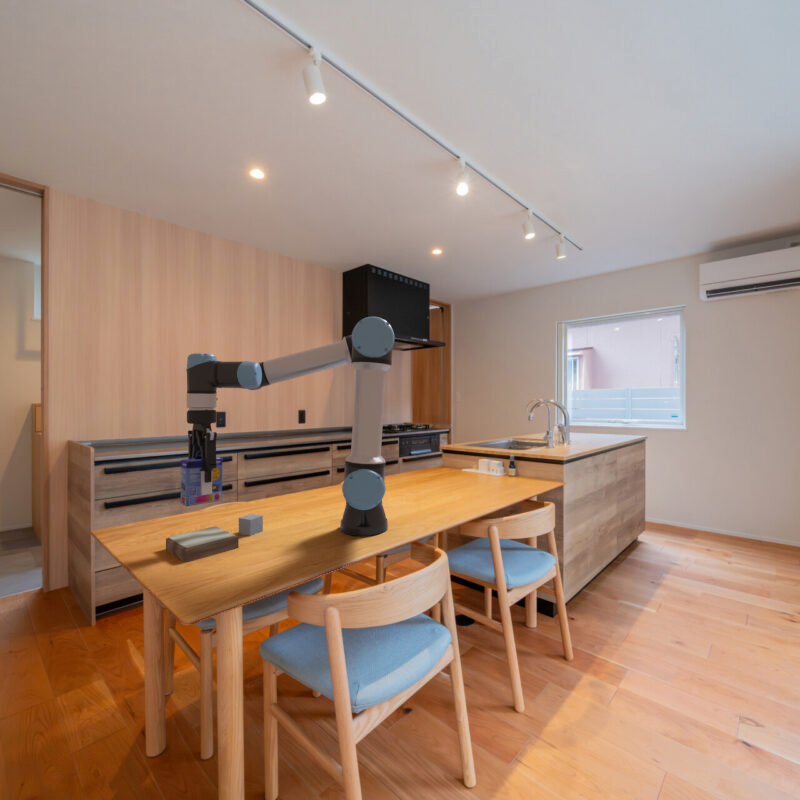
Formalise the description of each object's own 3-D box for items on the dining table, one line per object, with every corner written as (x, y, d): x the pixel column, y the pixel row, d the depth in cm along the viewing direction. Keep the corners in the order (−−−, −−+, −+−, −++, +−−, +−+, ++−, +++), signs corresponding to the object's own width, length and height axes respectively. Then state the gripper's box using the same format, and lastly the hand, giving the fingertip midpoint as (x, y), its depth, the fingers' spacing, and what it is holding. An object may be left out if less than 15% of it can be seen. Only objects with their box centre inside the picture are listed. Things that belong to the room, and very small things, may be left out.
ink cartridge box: (186, 507, 108) (186, 452, 109) (179, 504, 112) (178, 451, 113) (223, 500, 116) (223, 449, 116) (215, 498, 119) (215, 448, 120)
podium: (238, 547, 115) (238, 535, 115) (185, 562, 104) (185, 549, 104) (216, 536, 124) (216, 525, 124) (165, 549, 113) (165, 537, 113)
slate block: (262, 531, 129) (262, 515, 129) (250, 536, 125) (250, 519, 125) (251, 529, 131) (251, 513, 131) (238, 533, 127) (238, 517, 127)
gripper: (230, 409, 111) (230, 495, 111) (201, 408, 123) (201, 485, 123) (201, 409, 105) (201, 500, 105) (175, 409, 118) (175, 489, 117)
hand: (201, 492), depth 114 cm, fingers closed on ink cartridge box, 5 cm apart
